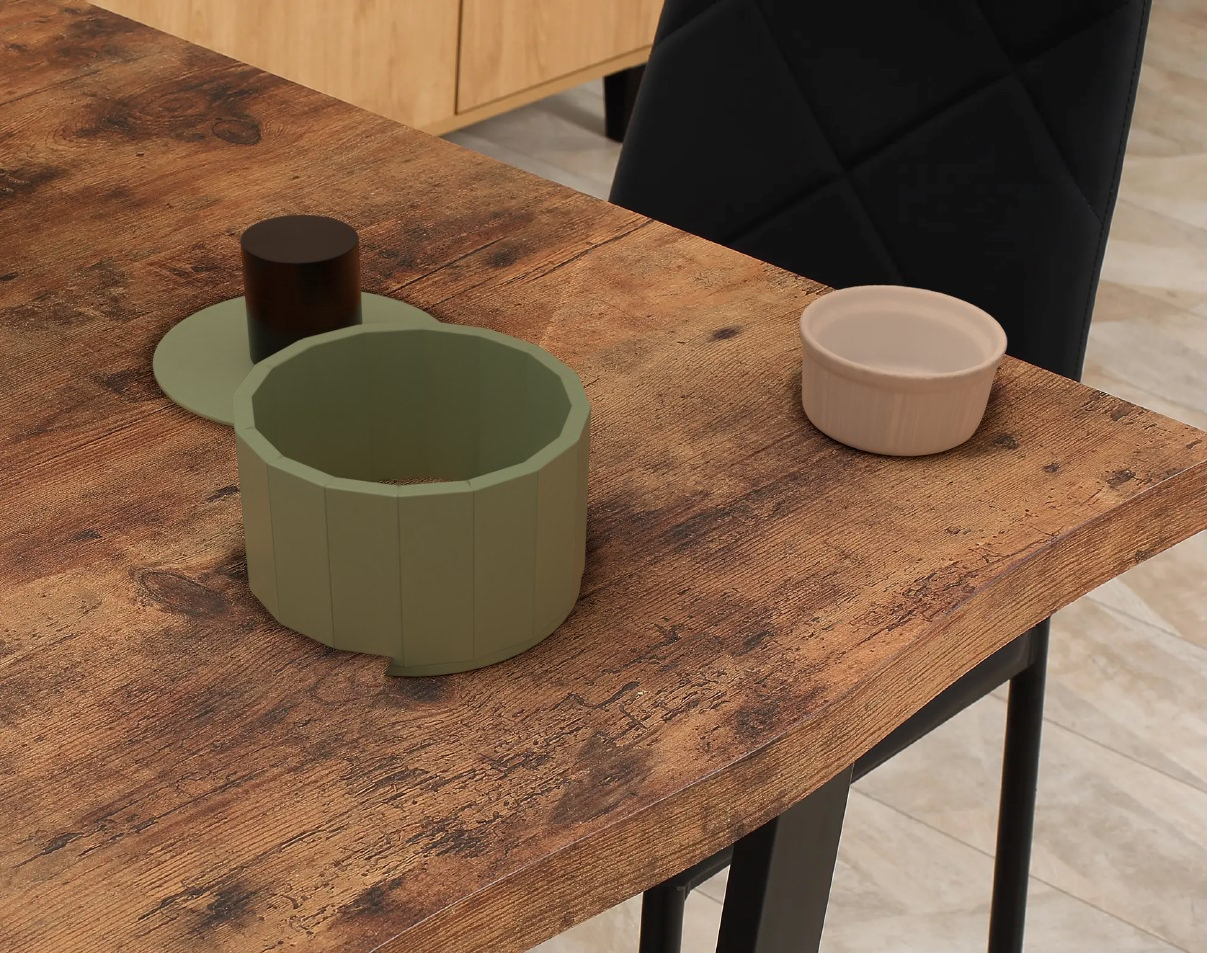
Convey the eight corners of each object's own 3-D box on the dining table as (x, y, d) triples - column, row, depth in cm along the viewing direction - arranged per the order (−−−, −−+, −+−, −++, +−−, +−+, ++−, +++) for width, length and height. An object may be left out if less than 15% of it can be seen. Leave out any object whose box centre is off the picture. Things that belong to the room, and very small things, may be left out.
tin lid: (105, 429, 73) (85, 285, 69) (219, 294, 84) (206, 164, 80) (413, 470, 71) (409, 325, 67) (488, 327, 82) (489, 195, 78)
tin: (199, 649, 61) (178, 466, 57) (310, 471, 71) (299, 304, 66) (543, 700, 59) (548, 516, 55) (607, 510, 69) (616, 343, 65)
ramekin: (753, 423, 76) (763, 334, 73) (846, 350, 82) (858, 265, 79) (938, 489, 72) (955, 397, 69) (1021, 407, 78) (1040, 320, 75)
